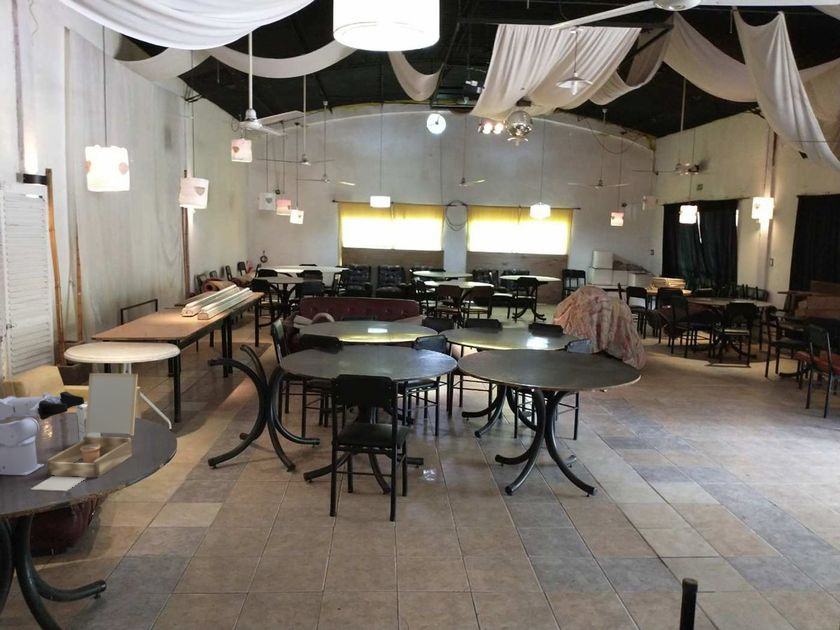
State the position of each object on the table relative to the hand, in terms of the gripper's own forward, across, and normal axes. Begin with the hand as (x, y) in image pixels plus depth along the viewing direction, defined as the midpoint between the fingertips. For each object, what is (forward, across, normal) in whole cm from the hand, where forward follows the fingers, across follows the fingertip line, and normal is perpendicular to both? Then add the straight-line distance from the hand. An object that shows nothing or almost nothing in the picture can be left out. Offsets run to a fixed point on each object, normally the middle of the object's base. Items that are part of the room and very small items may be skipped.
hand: (74, 404), depth 190 cm
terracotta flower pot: (-2, +6, +22) cm, 22 cm away
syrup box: (-15, +24, +21) cm, 35 cm away
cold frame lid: (-1, +18, +5) cm, 19 cm away
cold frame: (-2, +6, +22) cm, 22 cm away
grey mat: (-3, -9, +21) cm, 23 cm away
